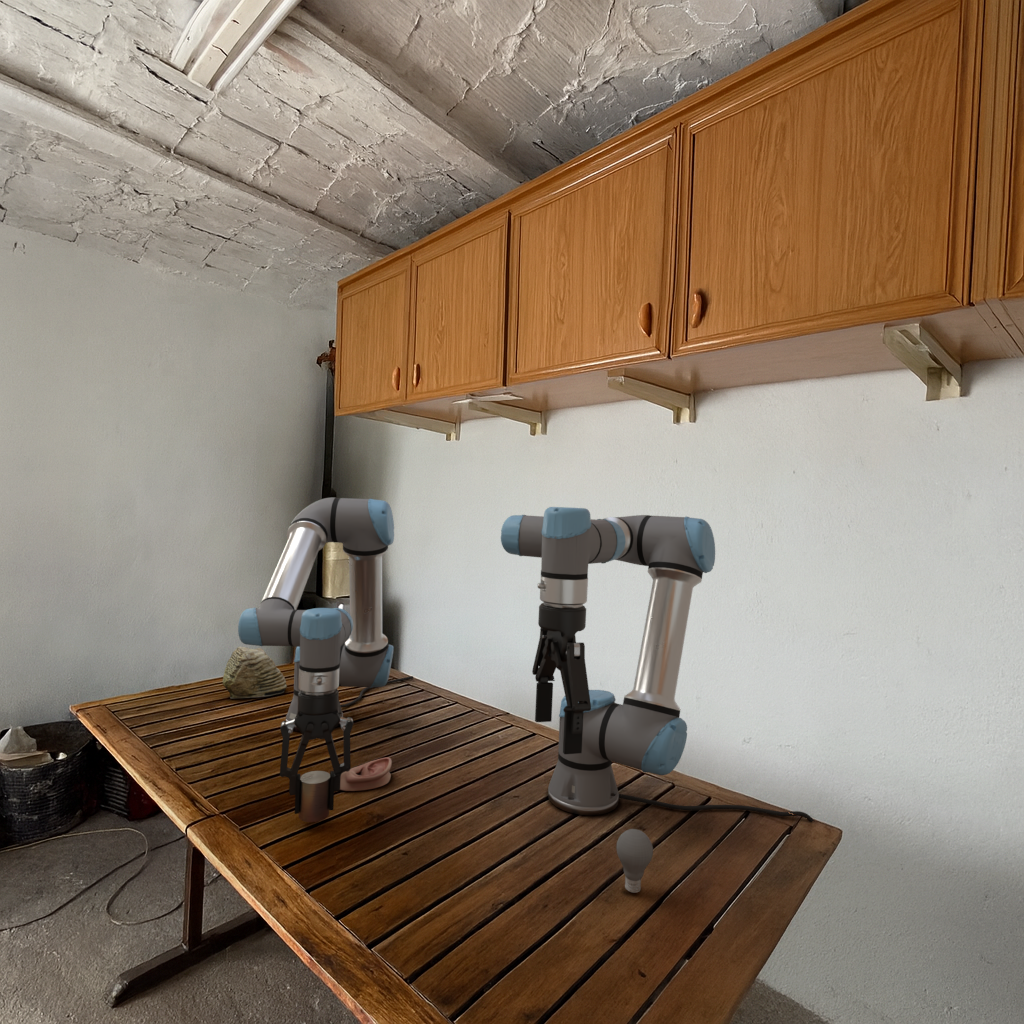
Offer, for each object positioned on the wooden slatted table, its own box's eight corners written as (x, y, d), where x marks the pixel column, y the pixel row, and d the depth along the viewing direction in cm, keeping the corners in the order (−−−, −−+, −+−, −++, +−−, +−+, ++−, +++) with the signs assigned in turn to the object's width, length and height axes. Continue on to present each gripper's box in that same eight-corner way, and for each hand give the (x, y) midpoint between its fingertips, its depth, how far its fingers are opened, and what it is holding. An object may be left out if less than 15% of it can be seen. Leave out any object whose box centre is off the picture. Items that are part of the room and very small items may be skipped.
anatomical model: (320, 769, 137) (344, 749, 149) (319, 787, 138) (343, 766, 149) (377, 777, 135) (397, 756, 146) (376, 795, 135) (397, 773, 146)
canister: (317, 824, 119) (319, 785, 119) (292, 818, 121) (293, 780, 121) (334, 811, 124) (336, 773, 124) (310, 805, 126) (311, 768, 126)
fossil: (218, 695, 195) (220, 647, 195) (278, 685, 208) (279, 640, 207) (228, 703, 189) (230, 653, 188) (289, 692, 201) (290, 645, 201)
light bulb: (610, 879, 108) (613, 822, 108) (644, 879, 109) (647, 822, 109) (619, 902, 102) (622, 840, 102) (655, 901, 103) (658, 840, 103)
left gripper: (265, 698, 116) (260, 823, 116) (369, 693, 121) (364, 813, 122) (268, 686, 123) (264, 804, 123) (366, 682, 129) (362, 795, 129)
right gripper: (518, 591, 112) (512, 711, 112) (568, 619, 88) (561, 770, 88) (558, 592, 114) (552, 709, 114) (618, 618, 90) (611, 766, 90)
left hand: (314, 808), depth 123 cm, fingers closed on canister, 6 cm apart
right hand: (556, 736), depth 101 cm, fingers open, 13 cm apart
